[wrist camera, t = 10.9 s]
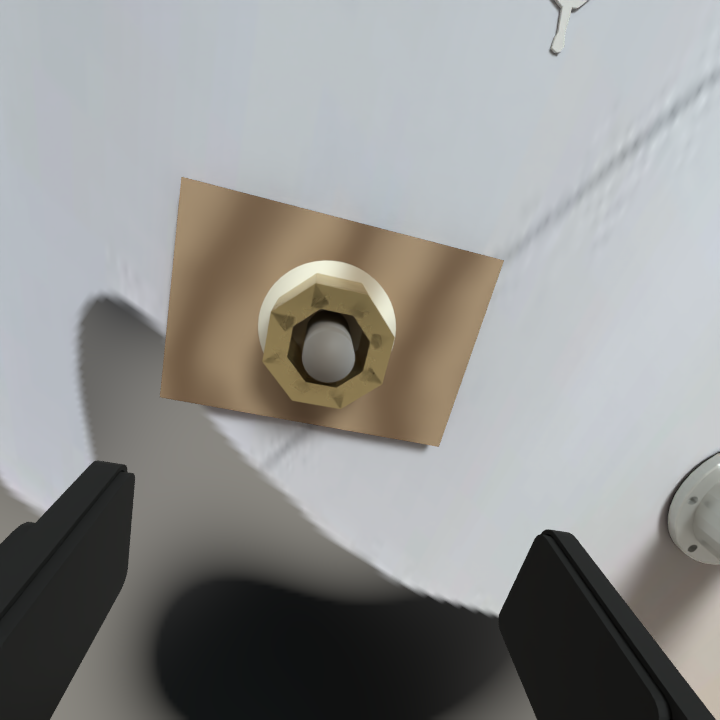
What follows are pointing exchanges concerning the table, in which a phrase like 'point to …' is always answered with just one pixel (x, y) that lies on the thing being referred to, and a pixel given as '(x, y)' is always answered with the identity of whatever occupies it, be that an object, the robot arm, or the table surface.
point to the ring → (287, 354)
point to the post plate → (273, 245)
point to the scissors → (564, 22)
